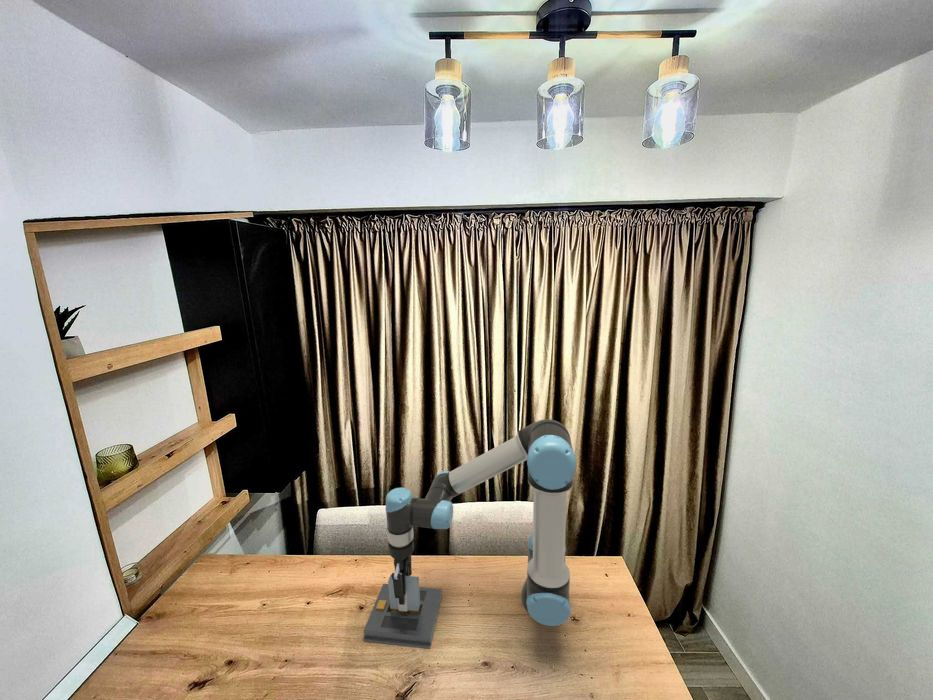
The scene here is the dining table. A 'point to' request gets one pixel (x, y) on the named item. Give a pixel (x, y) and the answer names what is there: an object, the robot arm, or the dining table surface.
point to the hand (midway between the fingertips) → (404, 605)
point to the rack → (404, 620)
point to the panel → (411, 590)
